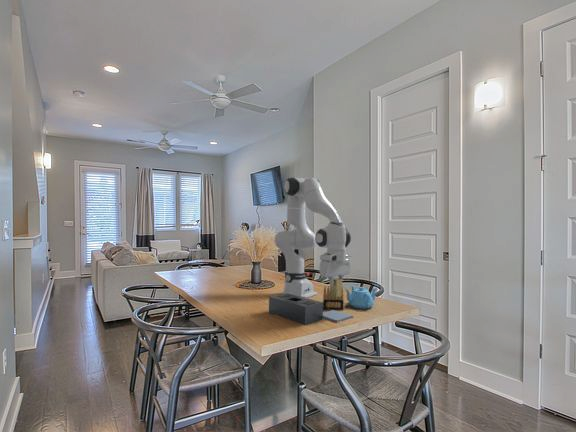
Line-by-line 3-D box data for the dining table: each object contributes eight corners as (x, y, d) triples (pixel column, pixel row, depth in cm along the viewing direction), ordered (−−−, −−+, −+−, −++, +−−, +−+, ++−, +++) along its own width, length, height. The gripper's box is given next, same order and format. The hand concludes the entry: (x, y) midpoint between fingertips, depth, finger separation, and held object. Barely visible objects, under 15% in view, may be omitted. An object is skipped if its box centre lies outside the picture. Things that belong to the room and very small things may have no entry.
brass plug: (334, 294, 156) (335, 278, 156) (341, 296, 153) (341, 279, 153) (329, 295, 153) (330, 278, 153) (336, 297, 150) (336, 280, 150)
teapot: (370, 311, 164) (371, 291, 164) (342, 307, 171) (342, 287, 171) (377, 305, 177) (377, 286, 177) (350, 301, 184) (351, 283, 184)
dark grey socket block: (286, 308, 165) (286, 292, 166) (322, 319, 148) (323, 302, 148) (268, 313, 157) (269, 296, 157) (304, 325, 140) (305, 306, 140)
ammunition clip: (322, 309, 166) (323, 286, 166) (322, 308, 167) (323, 285, 168) (343, 310, 166) (344, 286, 166) (343, 309, 168) (343, 285, 168)
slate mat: (332, 312, 162) (332, 309, 162) (353, 317, 153) (353, 315, 153) (317, 316, 153) (317, 314, 153) (337, 322, 145) (337, 320, 145)
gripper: (344, 254, 163) (343, 281, 163) (317, 256, 149) (316, 286, 148) (354, 255, 158) (353, 283, 158) (328, 257, 144) (327, 288, 144)
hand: (335, 285), depth 153 cm, fingers closed on brass plug, 4 cm apart
